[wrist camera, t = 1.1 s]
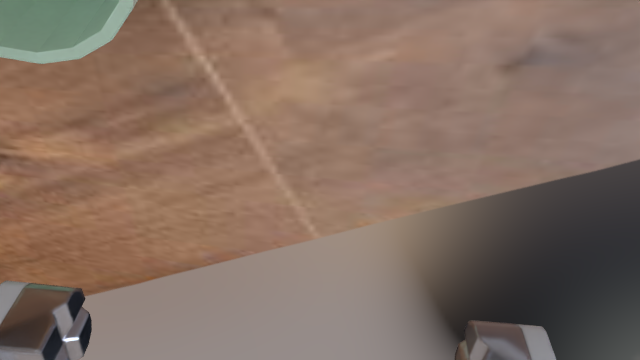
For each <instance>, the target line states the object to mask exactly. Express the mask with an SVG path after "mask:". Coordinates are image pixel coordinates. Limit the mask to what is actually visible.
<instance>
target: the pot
mask: <svg viewBox="0 0 640 360" xmlns="http://www.w3.org/2000/svg"><path fill="white" fill-rule="evenodd" d="M137 1H138V0H0V57H3V58H9V59H15V60H21V61H27V62H32V63H38V64H45V63H52V62H60V61H67V60H74V59H80V58H82V57H84V56H86V55H88V54H89V53H91V52H93V51H94V50H96V49H98V48H100V47H101V46H103V45H105V44H107V43H108V42H110V41H111V40H112V39H113V38H114V37H115V35H116V34H117V32H118V31H119V29H120V28H121V26H122V25H123V23H124V22H125V20H126V19H127V17H128V16H129V14H130V13H131V11H132V10H133V8H134V6H135V4H136V3H137Z"/></svg>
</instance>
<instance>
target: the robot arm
mask: <svg viewBox="0 0 640 360" xmlns="http://www.w3.org/2000/svg"><path fill="white" fill-rule="evenodd" d="M84 301H85V297H84V294H83V291H82V289H81V288H72V287H63V286H54V285H45V284H36V283H27V282H16V281H4V282H3V283H2V284H0V360H79V359H81V358H82V357H83V356H84V354H85V351H86V349H87V347H88V344H89V339H90V335H91V317H90V314H89V312H88V311H87V310H85V309H84V308H83V307H82V305H83V302H84ZM464 334H465V339H466V340H464V341H463V342H461V343H459V345H458V347H457V350H456V353H455V360H556V358H555V355H554V352H553V349H552V347H551V344H550V341H549V339H548V336H547V333H546V331H545V330H544V329H543V327H540V326H530V325H516V324H511V323H498V322H484V321H469V322H468V323H467V325H466V327H465V330H464Z"/></svg>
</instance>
